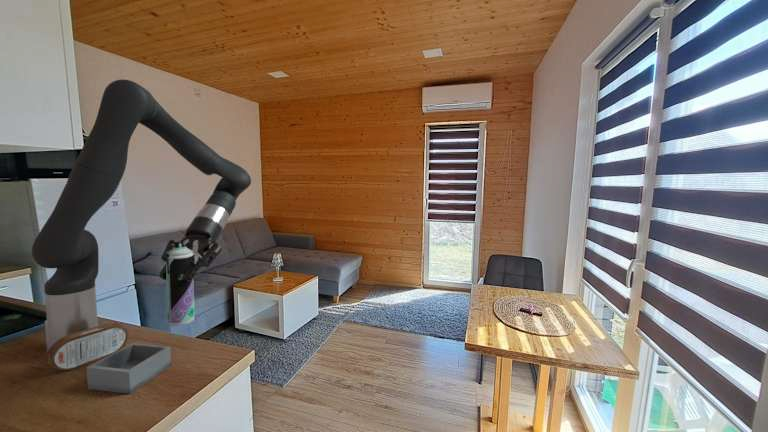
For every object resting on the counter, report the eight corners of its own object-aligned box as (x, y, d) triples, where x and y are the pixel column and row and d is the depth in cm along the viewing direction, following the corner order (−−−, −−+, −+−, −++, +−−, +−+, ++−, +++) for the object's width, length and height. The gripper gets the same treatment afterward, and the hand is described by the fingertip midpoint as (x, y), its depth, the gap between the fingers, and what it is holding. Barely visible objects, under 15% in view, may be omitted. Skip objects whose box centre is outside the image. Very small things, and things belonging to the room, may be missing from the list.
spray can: (181, 327, 70) (178, 244, 68) (161, 324, 71) (159, 242, 69) (199, 317, 75) (198, 240, 73) (181, 315, 76) (179, 239, 74)
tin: (125, 345, 83) (124, 317, 82) (130, 348, 82) (129, 319, 81) (46, 374, 70) (44, 340, 69) (51, 378, 68) (48, 344, 68)
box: (87, 388, 65) (86, 367, 65) (133, 361, 76) (132, 342, 75) (130, 393, 64) (129, 372, 64) (171, 365, 74) (170, 346, 74)
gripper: (177, 214, 79) (136, 269, 68) (226, 216, 77) (193, 273, 66) (192, 230, 84) (157, 284, 74) (239, 233, 83) (210, 288, 72)
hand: (174, 279), depth 70 cm, fingers closed on spray can, 5 cm apart
